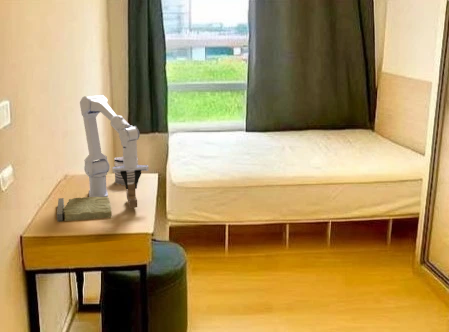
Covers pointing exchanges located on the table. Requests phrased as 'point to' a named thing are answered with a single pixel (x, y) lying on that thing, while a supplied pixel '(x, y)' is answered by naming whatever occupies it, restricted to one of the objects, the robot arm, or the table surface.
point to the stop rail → (60, 209)
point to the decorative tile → (87, 208)
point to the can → (118, 177)
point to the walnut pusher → (131, 195)
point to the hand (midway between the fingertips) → (131, 188)
